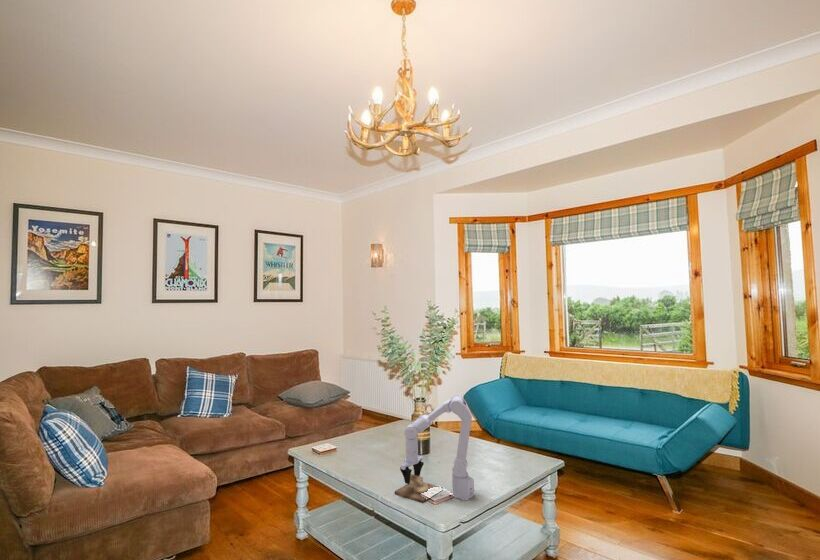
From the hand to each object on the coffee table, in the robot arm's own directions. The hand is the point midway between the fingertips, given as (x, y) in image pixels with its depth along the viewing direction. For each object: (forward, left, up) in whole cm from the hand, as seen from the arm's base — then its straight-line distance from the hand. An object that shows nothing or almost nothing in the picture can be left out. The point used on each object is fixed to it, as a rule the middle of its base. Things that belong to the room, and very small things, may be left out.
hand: (412, 480), depth 208 cm
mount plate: (-3, -1, -5) cm, 6 cm away
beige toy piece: (-3, 0, -4) cm, 4 cm away
